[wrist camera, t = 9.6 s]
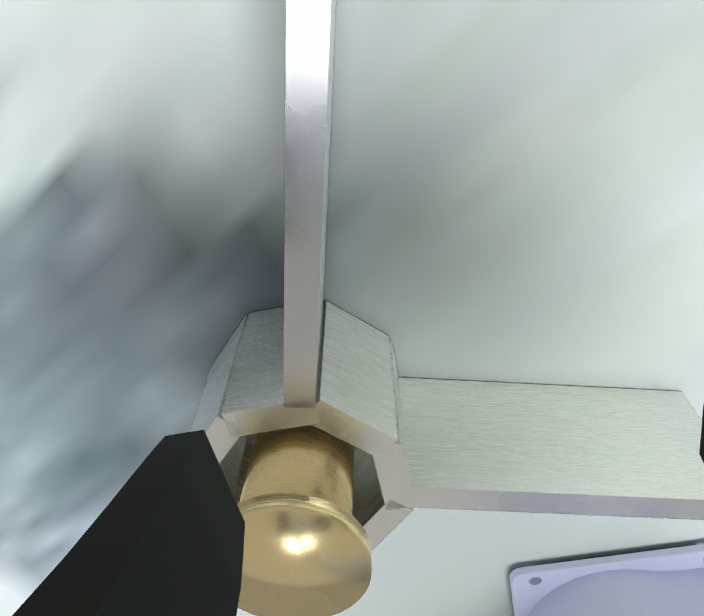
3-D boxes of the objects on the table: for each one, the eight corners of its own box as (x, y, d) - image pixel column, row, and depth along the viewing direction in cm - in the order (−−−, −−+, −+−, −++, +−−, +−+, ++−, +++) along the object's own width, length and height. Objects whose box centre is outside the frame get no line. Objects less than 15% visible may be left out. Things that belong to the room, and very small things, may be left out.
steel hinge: (723, -150, 14) (884, -187, 10) (680, 408, 22) (758, 521, 18) (69, 5, 16) (-37, 30, 11) (252, 472, 24) (229, 590, 20)
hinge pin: (362, 323, 20) (358, 506, 14) (378, 417, 22) (380, 615, 16) (242, 336, 21) (185, 520, 14) (268, 428, 23) (227, 626, 16)
